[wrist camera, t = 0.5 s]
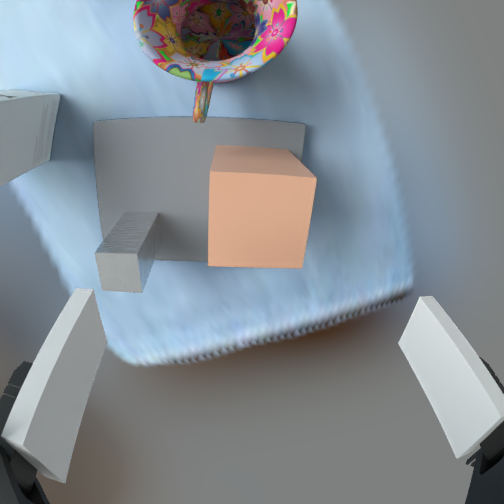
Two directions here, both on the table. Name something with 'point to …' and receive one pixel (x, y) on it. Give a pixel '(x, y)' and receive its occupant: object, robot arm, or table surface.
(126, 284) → the post
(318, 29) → the table surface
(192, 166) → the board
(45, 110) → the supplement box
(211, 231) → the peach tan brick
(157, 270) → the table surface
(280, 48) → the mug
